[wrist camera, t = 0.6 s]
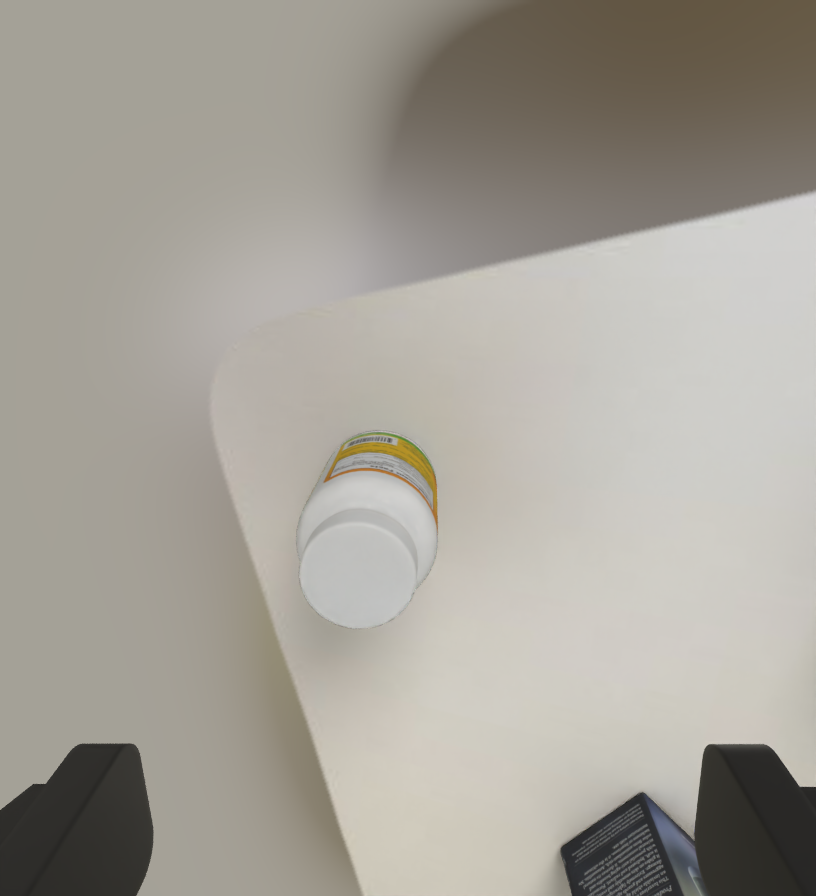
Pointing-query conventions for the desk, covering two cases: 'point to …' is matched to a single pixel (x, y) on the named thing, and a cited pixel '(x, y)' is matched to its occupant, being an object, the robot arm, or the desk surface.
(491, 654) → the desk surface
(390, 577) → the supplement bottle
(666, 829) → the small box
